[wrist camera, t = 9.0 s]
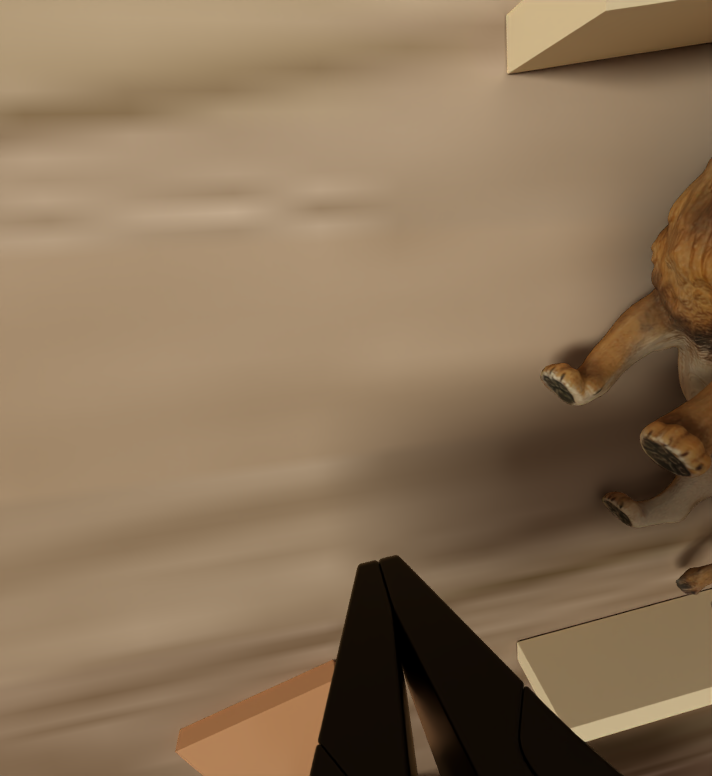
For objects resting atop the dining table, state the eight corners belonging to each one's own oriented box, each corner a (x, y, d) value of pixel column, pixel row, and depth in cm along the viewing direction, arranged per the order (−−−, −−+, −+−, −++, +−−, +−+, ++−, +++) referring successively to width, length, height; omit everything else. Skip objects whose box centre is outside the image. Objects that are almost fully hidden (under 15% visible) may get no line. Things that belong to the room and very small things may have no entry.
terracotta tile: (391, 729, 18) (398, 762, 17) (262, 787, 18) (260, 825, 17) (331, 646, 15) (335, 679, 14) (183, 713, 15) (175, 751, 14)
